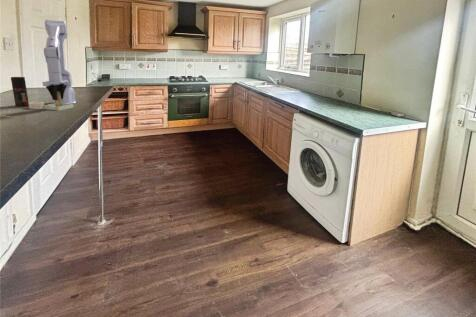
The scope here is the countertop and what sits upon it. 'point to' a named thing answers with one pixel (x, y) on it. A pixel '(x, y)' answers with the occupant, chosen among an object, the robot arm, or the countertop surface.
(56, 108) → the tray
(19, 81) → the deodorant
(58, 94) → the dowel
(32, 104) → the white octagonal bowl
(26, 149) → the countertop surface
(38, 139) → the countertop surface
